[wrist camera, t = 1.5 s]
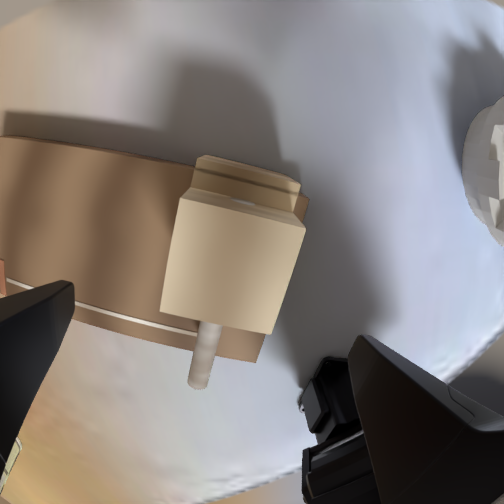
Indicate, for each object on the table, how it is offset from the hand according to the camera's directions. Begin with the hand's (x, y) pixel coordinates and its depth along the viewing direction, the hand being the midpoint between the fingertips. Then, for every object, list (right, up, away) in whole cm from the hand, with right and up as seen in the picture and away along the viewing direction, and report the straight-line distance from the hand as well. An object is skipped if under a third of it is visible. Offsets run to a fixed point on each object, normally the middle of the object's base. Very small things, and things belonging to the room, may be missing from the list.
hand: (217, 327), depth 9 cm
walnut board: (-8, +3, +11) cm, 14 cm away
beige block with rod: (-1, +2, +12) cm, 12 cm away
